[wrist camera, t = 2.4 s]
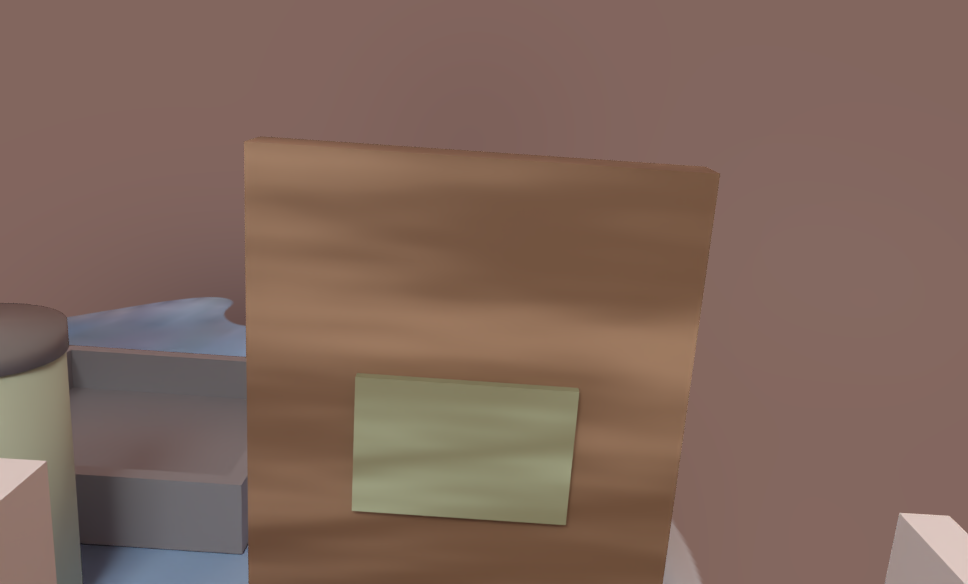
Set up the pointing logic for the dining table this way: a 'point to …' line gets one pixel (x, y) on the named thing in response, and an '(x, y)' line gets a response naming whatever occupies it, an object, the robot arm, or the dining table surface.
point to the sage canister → (41, 416)
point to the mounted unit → (466, 362)
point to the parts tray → (160, 448)
